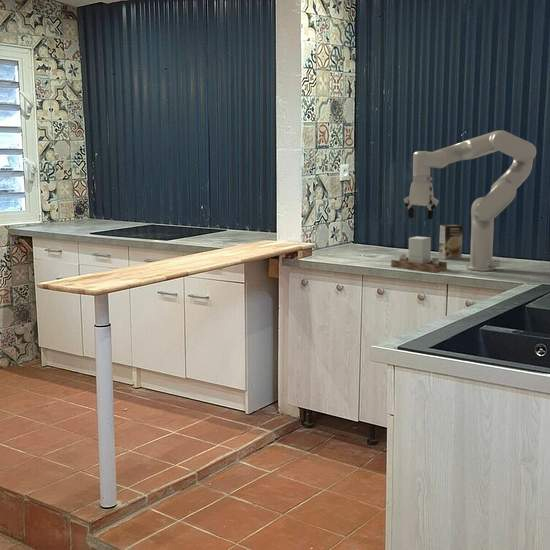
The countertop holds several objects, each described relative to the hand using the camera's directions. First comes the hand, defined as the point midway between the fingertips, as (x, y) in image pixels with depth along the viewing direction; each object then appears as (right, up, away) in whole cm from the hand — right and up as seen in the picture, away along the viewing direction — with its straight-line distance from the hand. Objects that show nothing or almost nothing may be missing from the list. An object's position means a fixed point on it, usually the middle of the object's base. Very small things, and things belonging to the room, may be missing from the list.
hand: (420, 218), depth 348 cm
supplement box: (0, -21, +4) cm, 21 cm away
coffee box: (+20, -17, +30) cm, 40 cm away
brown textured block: (0, -22, +4) cm, 22 cm away
